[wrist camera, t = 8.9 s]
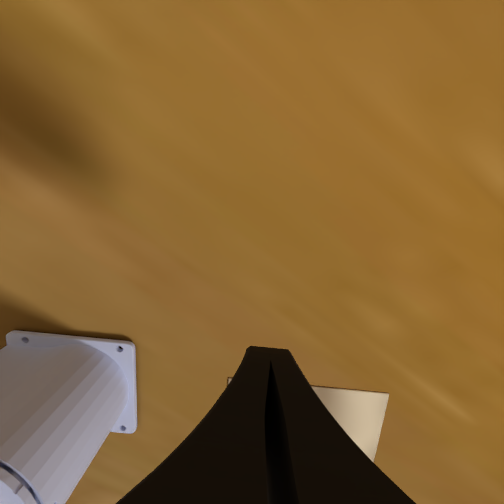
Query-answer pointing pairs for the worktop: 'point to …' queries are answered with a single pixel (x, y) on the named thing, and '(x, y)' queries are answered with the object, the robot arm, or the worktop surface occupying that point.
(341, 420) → the shelf board
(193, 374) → the worktop surface
